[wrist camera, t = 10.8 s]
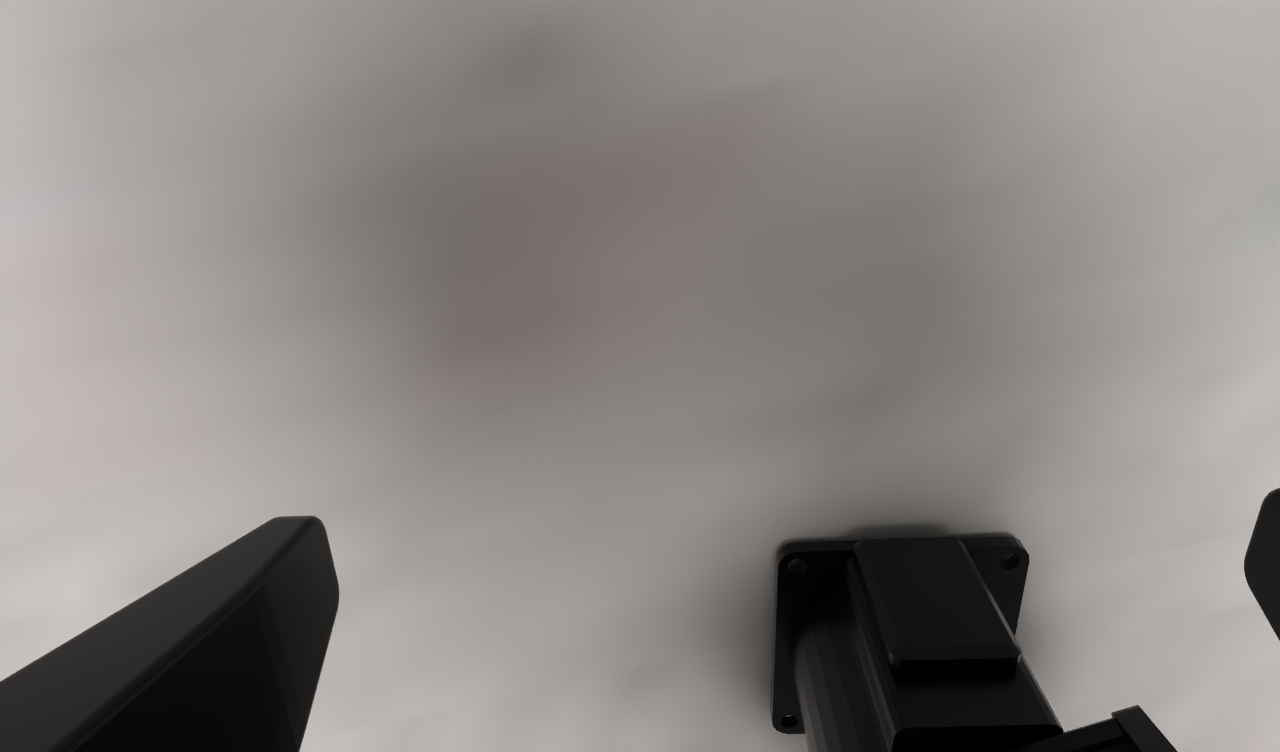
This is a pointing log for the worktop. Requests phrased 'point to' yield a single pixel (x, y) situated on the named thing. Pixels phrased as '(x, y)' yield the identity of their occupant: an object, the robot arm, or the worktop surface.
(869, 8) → the worktop surface
